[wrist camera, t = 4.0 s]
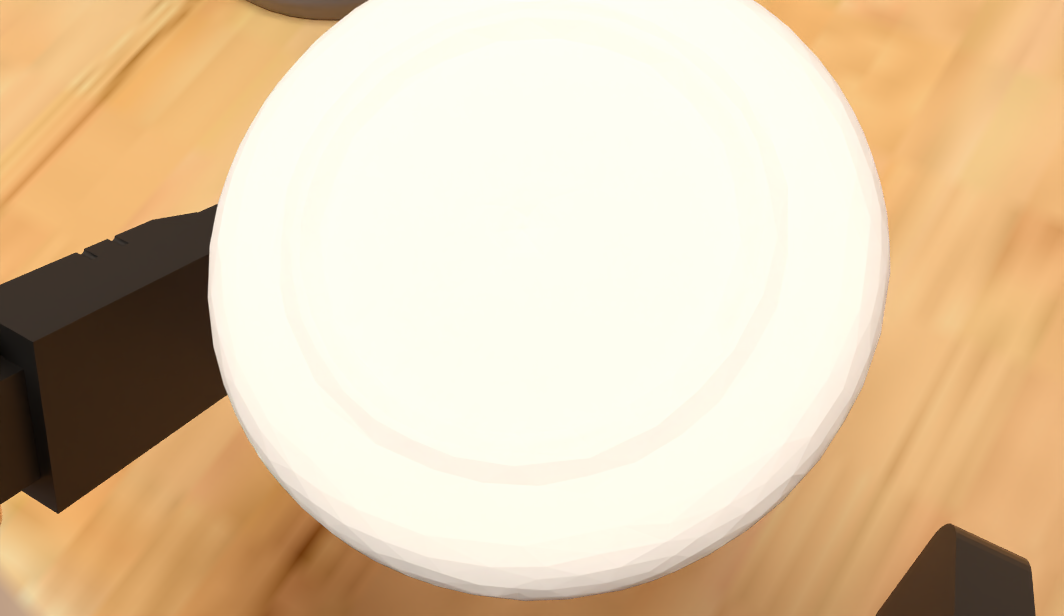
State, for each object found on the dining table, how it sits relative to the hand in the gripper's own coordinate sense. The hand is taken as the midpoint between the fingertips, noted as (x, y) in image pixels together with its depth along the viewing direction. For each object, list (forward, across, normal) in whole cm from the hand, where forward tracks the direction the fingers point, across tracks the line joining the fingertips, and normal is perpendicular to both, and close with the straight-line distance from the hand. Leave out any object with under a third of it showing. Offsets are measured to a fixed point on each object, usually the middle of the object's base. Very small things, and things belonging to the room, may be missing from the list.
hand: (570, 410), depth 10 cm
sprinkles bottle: (+6, 0, +6) cm, 9 cm away
